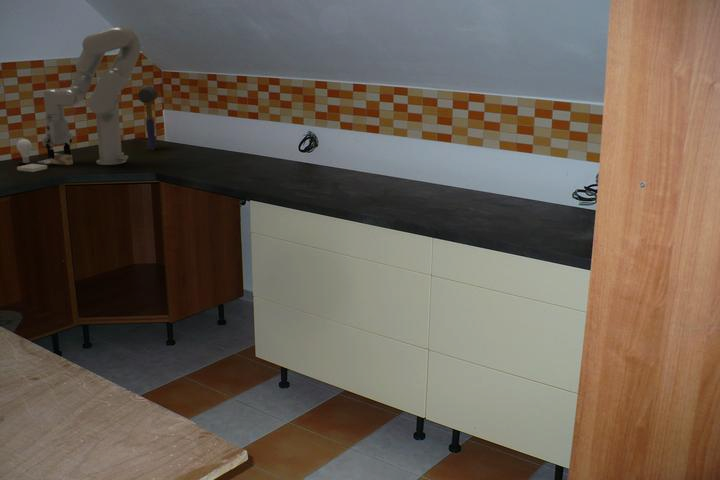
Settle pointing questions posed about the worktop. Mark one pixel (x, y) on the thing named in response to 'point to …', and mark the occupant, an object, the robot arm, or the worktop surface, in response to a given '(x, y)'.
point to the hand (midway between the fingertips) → (59, 156)
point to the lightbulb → (24, 149)
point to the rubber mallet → (149, 112)
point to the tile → (32, 167)
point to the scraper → (59, 159)
